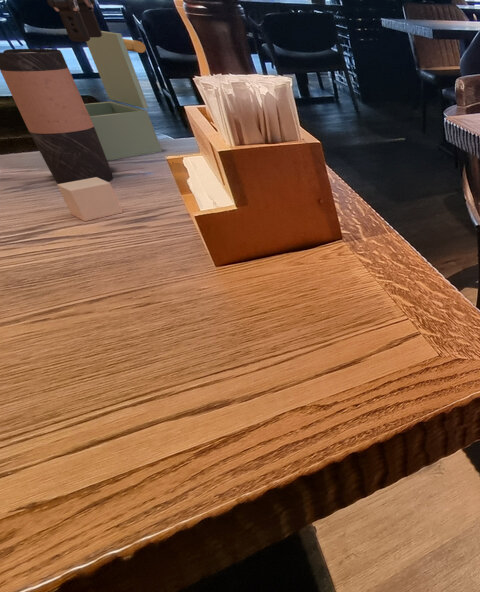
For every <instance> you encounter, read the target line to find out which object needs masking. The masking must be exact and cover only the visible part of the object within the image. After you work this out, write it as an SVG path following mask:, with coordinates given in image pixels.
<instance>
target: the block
mask: <svg viewBox="0 0 480 592" xmlns="http://www.w3.org/2000/svg"><path fill="white" fill-rule="evenodd" d="M56 185H57V188H58V190H59V192H60V194H61V196H62V198H63V200H64V202H65V204H66V206H67V208H68V210H69V212H70V215H72V216H73V217H76V218H77V219H78V220H79V219H80V220H81V221H83V222H88V221H92V220H97V219H101V218H105V217H110V216H115V215H118V214H123V210H122V207H121V204H120V203H119V200H118V198H117V195H116V193H115V191H114V189H113V187H112V184H111V183H110V181H108V182H107V181H104V180H102V179H100V178H97V177H95V178H89V179H84V180H78V181H73V182H67V183H62V184H57V183H56Z"/></svg>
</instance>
